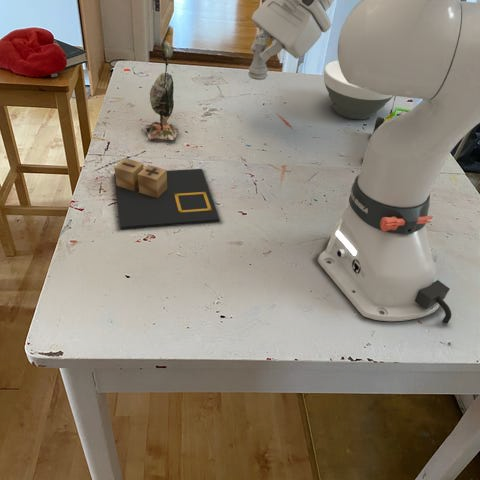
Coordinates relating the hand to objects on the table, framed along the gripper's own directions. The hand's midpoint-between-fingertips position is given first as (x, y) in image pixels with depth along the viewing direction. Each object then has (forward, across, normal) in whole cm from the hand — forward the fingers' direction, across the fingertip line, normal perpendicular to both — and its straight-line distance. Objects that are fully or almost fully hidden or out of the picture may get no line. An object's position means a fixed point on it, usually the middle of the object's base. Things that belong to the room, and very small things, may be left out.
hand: (257, 55), depth 102 cm
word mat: (+32, +23, -8) cm, 40 cm away
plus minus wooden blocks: (+34, +19, -11) cm, 40 cm away
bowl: (-11, -3, +34) cm, 36 cm away
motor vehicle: (-8, +20, +31) cm, 38 cm away
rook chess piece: (+3, 0, +4) cm, 5 cm away
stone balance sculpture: (+26, -3, -3) cm, 27 cm away
